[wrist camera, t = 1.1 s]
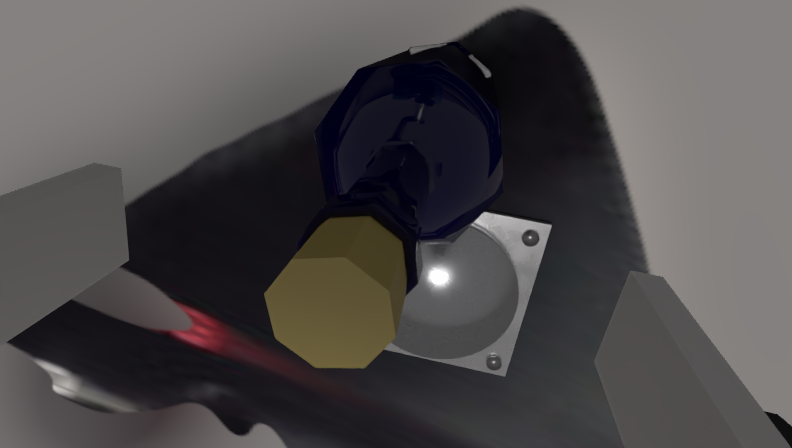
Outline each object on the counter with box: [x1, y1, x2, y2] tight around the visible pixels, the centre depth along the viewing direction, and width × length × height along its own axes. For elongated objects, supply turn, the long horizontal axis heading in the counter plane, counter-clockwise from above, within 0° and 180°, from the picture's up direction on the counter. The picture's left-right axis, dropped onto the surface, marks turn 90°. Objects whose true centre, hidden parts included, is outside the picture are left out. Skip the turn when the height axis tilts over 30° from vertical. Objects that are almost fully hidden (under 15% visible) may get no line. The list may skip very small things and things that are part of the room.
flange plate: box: [385, 210, 552, 376], centre depth 43 cm, size 16×16×2 cm
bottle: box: [264, 42, 504, 368], centre depth 23 cm, size 9×9×30 cm
